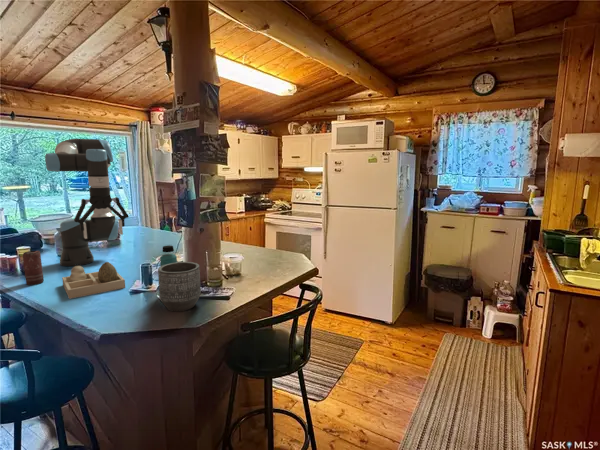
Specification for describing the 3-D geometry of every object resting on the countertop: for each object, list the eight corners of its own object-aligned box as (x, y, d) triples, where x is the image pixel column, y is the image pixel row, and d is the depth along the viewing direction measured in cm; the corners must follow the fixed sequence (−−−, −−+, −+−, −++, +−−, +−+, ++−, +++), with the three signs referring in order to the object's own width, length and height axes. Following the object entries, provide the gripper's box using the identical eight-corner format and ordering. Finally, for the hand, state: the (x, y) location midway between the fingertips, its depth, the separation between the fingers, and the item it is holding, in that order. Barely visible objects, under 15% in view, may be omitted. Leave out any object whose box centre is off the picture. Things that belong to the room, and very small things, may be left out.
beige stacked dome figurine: (69, 283, 149) (67, 265, 148) (85, 280, 153) (84, 263, 151) (71, 287, 144) (69, 268, 143) (88, 284, 148) (86, 266, 147)
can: (47, 281, 154) (44, 250, 152) (32, 286, 148) (28, 254, 146) (38, 280, 156) (34, 249, 154) (23, 284, 150) (18, 253, 148)
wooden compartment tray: (63, 285, 149) (62, 277, 149) (114, 276, 162) (113, 268, 161) (69, 298, 134) (68, 290, 134) (125, 287, 147) (124, 279, 146)
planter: (191, 296, 138) (189, 259, 135) (207, 306, 127) (206, 267, 125) (154, 305, 128) (152, 266, 126) (169, 317, 118) (166, 275, 115)
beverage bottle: (164, 291, 142) (161, 244, 139) (181, 291, 142) (178, 243, 139) (159, 297, 136) (156, 247, 132) (176, 297, 136) (174, 247, 133)
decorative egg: (98, 288, 142) (96, 265, 141) (99, 283, 149) (97, 261, 147) (118, 286, 146) (116, 263, 144) (117, 281, 152) (116, 259, 150)
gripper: (65, 188, 135) (70, 241, 139) (133, 186, 151) (137, 233, 155) (62, 187, 141) (68, 238, 145) (129, 185, 156) (132, 231, 160)
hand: (103, 236), depth 150 cm, fingers open, 13 cm apart
